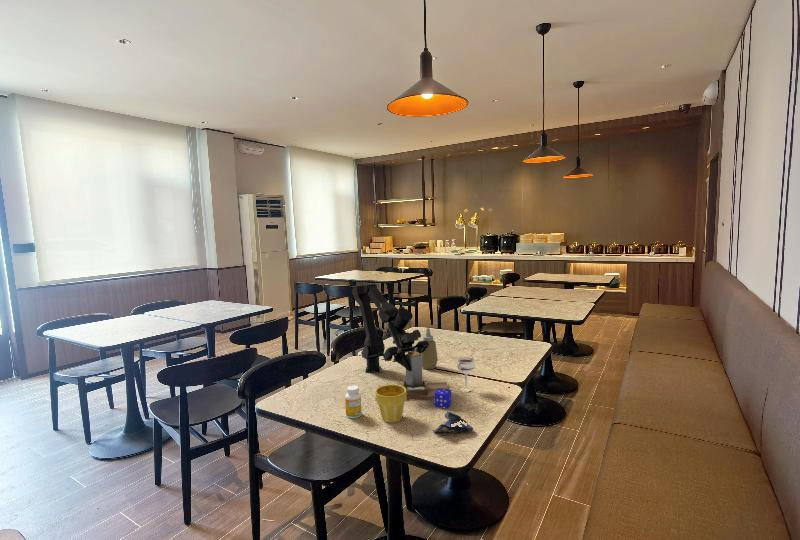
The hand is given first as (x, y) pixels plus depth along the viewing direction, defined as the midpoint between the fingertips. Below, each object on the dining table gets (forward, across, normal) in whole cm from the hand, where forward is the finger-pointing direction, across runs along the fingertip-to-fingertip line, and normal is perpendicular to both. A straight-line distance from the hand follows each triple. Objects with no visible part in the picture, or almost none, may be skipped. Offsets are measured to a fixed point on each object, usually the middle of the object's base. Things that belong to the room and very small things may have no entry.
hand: (415, 369), depth 158 cm
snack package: (+28, -7, -14) cm, 32 cm away
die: (+16, +2, -3) cm, 17 cm away
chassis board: (+7, +3, +7) cm, 10 cm away
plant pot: (+15, -18, -1) cm, 24 cm away
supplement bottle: (+8, -28, +6) cm, 29 cm away
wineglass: (+13, +18, +1) cm, 22 cm away
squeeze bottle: (-8, +22, +22) cm, 32 cm away
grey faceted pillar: (+4, 0, +6) cm, 7 cm away
